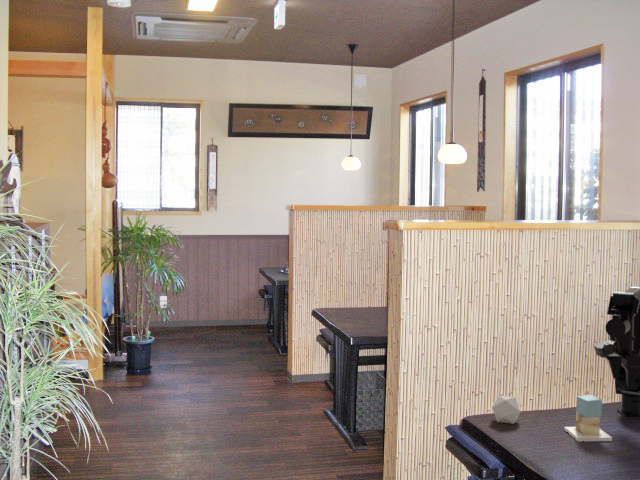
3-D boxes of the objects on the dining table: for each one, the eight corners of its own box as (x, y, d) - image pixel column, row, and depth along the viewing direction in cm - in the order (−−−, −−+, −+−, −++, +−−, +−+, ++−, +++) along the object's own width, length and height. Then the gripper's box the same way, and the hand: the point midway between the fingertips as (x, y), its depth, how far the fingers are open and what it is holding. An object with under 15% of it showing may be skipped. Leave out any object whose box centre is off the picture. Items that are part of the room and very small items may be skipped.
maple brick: (575, 428, 210) (576, 412, 210) (592, 428, 210) (592, 412, 210) (582, 434, 205) (583, 417, 205) (599, 434, 205) (599, 417, 205)
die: (523, 421, 222) (508, 393, 227) (528, 415, 215) (512, 387, 219) (499, 431, 222) (485, 403, 226) (503, 426, 214) (489, 397, 218)
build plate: (564, 430, 212) (564, 426, 212) (596, 429, 213) (596, 425, 213) (578, 441, 202) (578, 437, 202) (611, 440, 203) (612, 436, 203)
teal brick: (576, 412, 209) (576, 396, 209) (591, 411, 210) (591, 395, 210) (586, 417, 204) (586, 400, 204) (601, 416, 205) (601, 399, 205)
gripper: (584, 327, 225) (583, 375, 226) (611, 339, 207) (610, 391, 208) (618, 326, 226) (617, 374, 227) (648, 338, 207) (647, 390, 208)
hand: (622, 382), depth 217 cm, fingers open, 9 cm apart
